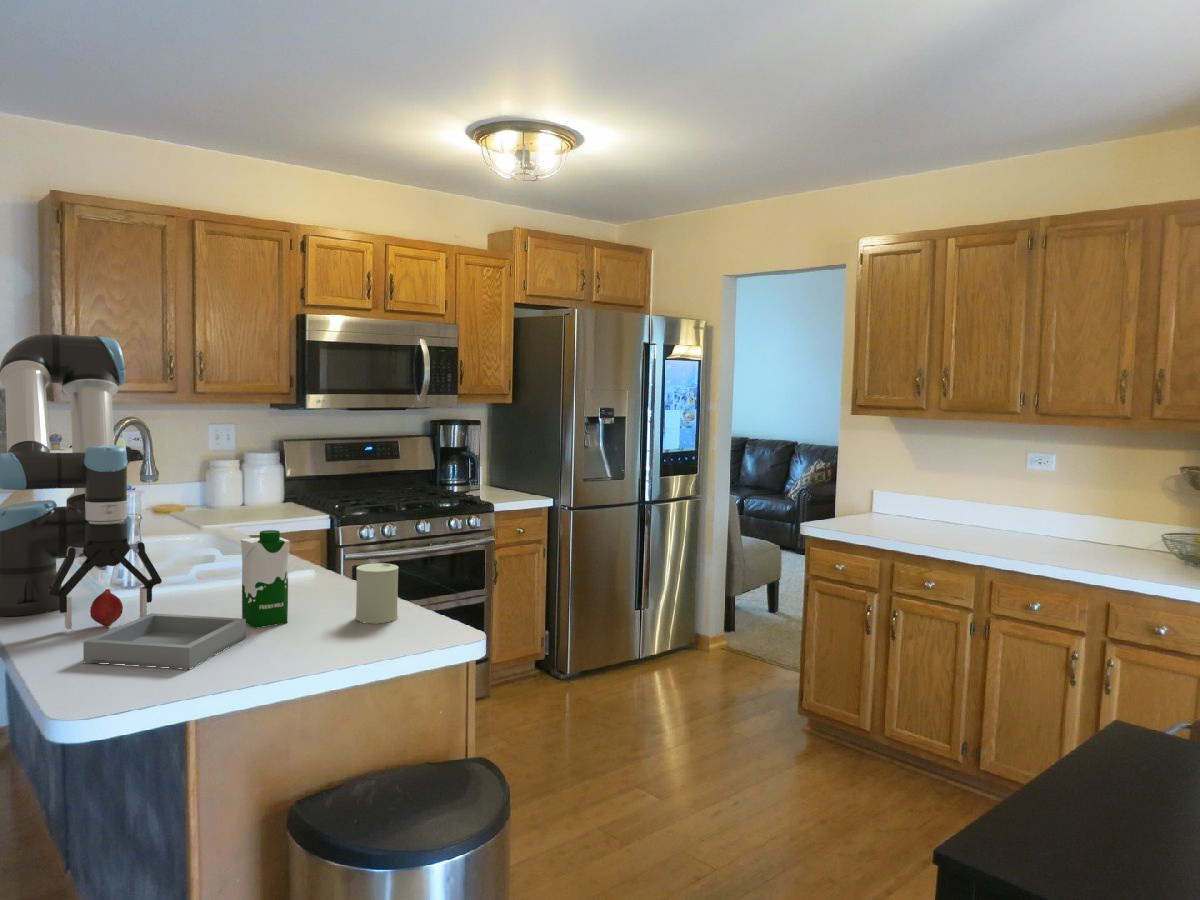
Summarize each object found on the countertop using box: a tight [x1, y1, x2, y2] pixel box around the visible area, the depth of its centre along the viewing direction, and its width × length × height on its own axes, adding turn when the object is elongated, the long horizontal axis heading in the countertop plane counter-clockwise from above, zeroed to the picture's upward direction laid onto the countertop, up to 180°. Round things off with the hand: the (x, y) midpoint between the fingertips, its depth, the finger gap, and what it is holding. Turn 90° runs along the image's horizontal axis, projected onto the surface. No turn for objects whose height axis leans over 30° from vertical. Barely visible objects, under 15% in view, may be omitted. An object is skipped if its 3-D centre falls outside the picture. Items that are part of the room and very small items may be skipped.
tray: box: [82, 612, 247, 670], centre depth 162 cm, size 20×20×4 cm
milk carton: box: [240, 529, 291, 629], centre depth 183 cm, size 9×9×20 cm
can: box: [355, 562, 400, 624], centre depth 189 cm, size 9×9×12 cm
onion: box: [89, 588, 124, 628], centre depth 176 cm, size 6×6×8 cm
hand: (106, 623), depth 176 cm, fingers open, 13 cm apart
